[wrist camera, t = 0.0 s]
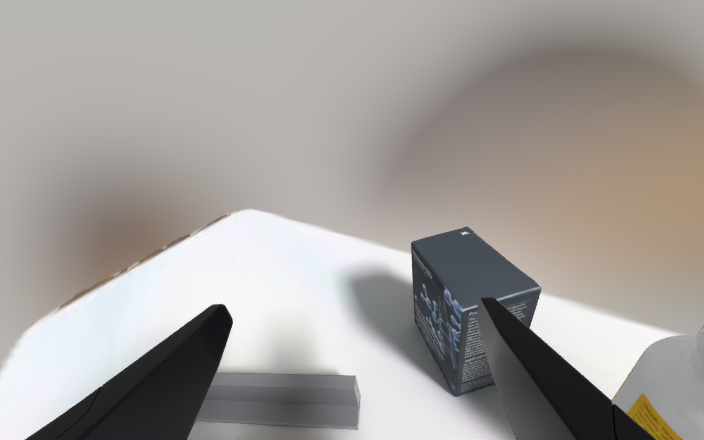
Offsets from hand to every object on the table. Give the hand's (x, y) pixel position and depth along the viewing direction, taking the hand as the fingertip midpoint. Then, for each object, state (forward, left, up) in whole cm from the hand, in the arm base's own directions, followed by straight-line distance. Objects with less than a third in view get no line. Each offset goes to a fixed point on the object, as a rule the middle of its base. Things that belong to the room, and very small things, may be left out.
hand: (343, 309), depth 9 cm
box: (+10, -7, -17) cm, 21 cm away
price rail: (+5, +10, -16) cm, 20 cm away
